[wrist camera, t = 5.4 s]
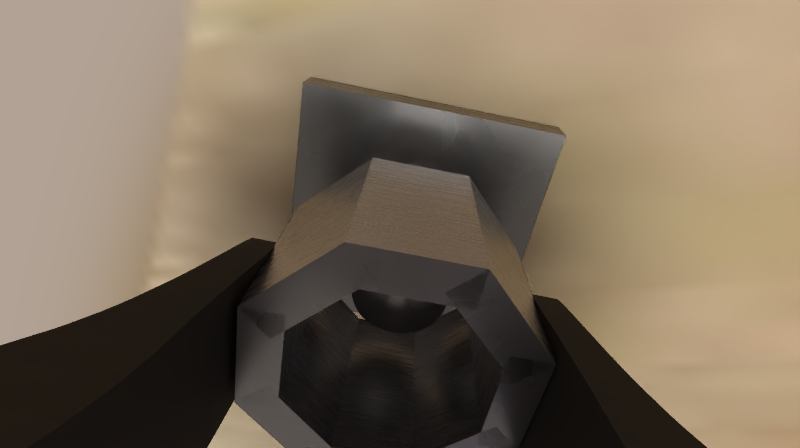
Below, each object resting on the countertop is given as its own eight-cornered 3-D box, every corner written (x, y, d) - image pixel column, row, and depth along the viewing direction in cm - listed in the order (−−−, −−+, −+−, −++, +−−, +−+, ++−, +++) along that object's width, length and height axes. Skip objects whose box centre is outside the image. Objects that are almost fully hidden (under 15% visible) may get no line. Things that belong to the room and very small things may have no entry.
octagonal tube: (476, 363, 13) (494, 502, 10) (286, 328, 13) (233, 457, 9) (536, 189, 11) (590, 288, 7) (303, 143, 10) (240, 222, 7)
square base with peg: (491, 323, 16) (506, 428, 12) (292, 283, 16) (244, 376, 12) (559, 127, 13) (608, 185, 9) (310, 77, 13) (254, 113, 9)
